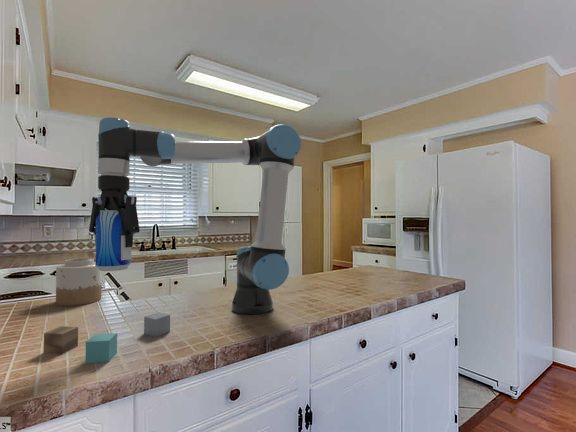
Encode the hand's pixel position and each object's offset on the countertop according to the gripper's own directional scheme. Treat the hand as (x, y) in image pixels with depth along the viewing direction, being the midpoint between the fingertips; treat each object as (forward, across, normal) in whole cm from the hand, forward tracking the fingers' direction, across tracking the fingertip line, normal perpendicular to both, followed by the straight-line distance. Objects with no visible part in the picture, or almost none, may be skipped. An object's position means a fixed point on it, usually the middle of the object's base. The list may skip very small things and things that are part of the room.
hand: (113, 258), depth 86 cm
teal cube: (+22, -7, +9) cm, 25 cm away
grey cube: (+22, -7, -9) cm, 25 cm away
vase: (+22, +48, -26) cm, 59 cm away
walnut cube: (+22, +7, +9) cm, 25 cm away
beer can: (+3, 0, 0) cm, 3 cm away
